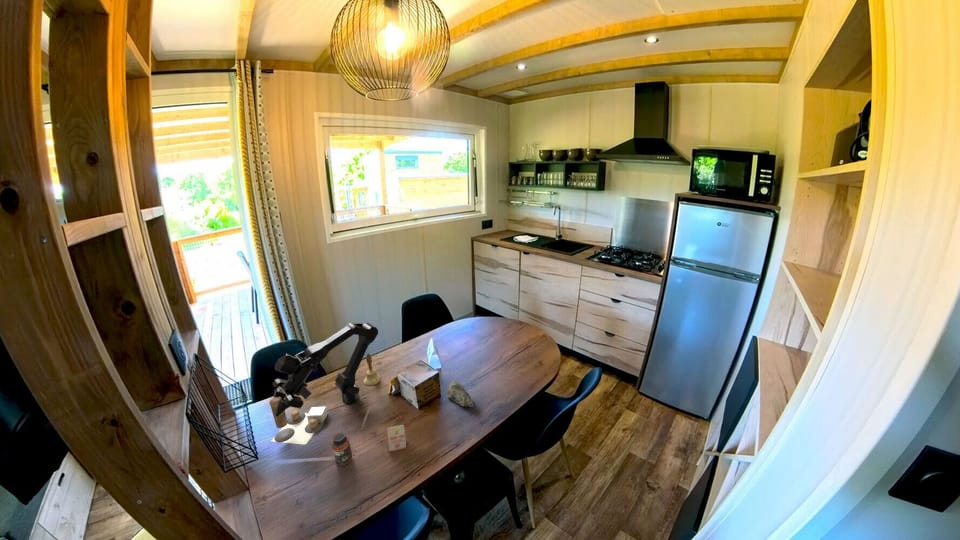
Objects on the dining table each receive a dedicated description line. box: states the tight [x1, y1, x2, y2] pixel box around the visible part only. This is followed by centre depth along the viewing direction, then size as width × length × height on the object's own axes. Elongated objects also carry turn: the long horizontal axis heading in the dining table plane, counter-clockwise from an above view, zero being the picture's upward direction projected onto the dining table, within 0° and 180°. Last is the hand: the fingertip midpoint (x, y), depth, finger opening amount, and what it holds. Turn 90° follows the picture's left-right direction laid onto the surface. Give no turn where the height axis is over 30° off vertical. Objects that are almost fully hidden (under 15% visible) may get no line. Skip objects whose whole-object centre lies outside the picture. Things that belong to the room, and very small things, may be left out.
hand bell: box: [363, 352, 381, 386], centre depth 167 cm, size 8×8×16 cm
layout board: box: [270, 409, 328, 446], centre depth 138 cm, size 18×16×4 cm
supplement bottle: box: [331, 432, 353, 467], centre depth 123 cm, size 6×6×11 cm
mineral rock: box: [446, 380, 474, 408], centre depth 152 cm, size 13×11×10 cm
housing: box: [307, 406, 328, 423], centre depth 143 cm, size 6×5×4 cm
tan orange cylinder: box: [269, 397, 288, 429], centre depth 131 cm, size 4×4×12 cm
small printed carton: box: [385, 424, 407, 453], centre depth 129 cm, size 4×7×10 cm, turn 105°
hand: (274, 413), depth 130 cm, fingers closed on tan orange cylinder, 4 cm apart
